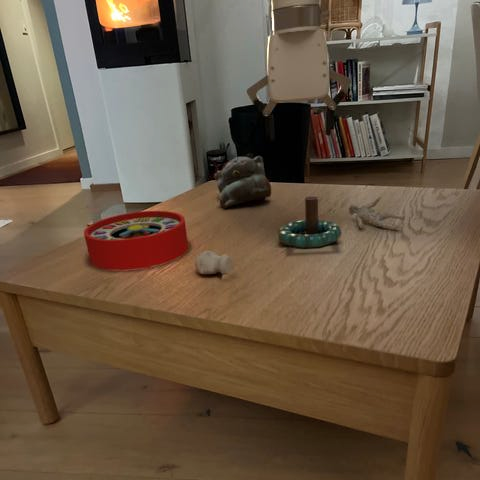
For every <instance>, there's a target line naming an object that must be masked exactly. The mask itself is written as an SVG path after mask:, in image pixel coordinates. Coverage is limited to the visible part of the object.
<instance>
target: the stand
mask: <svg viewBox="0 0 480 480" xmlns="http://www.w3.org/2000/svg"><path fill="white" fill-rule="evenodd" d="M304 209H305V210H304V211H305V212H304V213H305V214H304V216H305V217H304V218H305V219H304V220H305V223H306V232H300V233H296V234H302V235H310V234H320V233H324V232H318V220H319V197H317V196H307V197H305V198H304ZM337 246H338V242H337V240H336V241H335V242H334V243H332V244H329V245H325V246H324V247H337ZM288 248H289V249H300V248H301V247H293V246H289V245H288Z"/></svg>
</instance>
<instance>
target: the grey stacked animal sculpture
mask: <svg viewBox="0 0 480 480" xmlns="http://www.w3.org/2000/svg"><path fill="white" fill-rule="evenodd" d="M214 178H215V181H216V185H217V186H216V187H217V189H218V191H219V196H218V201H219V204H220V207H222V208H223V209H227V208H229V207H231V206H234V205H237V204H241V203H247V202H251V201H264V200H266V199H267V198H269V197H271V196H272V185H271V182H270V180H269V178H267V177H266V173H265V164H264V158H263V157H262V156H260V155H258V156H254V154H253V153H252V152H251V153H250V152H249V153H247V154H246V155H244V156H238V157H234V158H233V159H230V160H229V161H227V162H225V163H224V164H223V166H222V169H220V170H217V172H216V173H214Z"/></svg>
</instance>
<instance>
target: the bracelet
mask: <svg viewBox="0 0 480 480" xmlns="http://www.w3.org/2000/svg"><path fill="white" fill-rule="evenodd" d="M277 232H278V233H277V234H278V235H277V237H278V240H279V241H280V242H281V243H283V244H285V245H287V246H288V247H289V246H293V247H301V248H302V249H306V248H307V249H308V248H309V249H310V248H321V247H326V246H325V245H329V244H332V243H334V242H335V241H336V242H337V241H338V240H340V238H341V237H342V230H341V228H340V226H339V224H337V223H335V222H332V221H329V220H325V219H324V220H323V219H318V232H324V233H320V234H310V235H302V234H296V233H302V232H306V223H305V219H300V220H299V219H298V220H295V221H291V222H288V223H285V224H284V225H282V226H280V228H279V229H278V231H277Z"/></svg>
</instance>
